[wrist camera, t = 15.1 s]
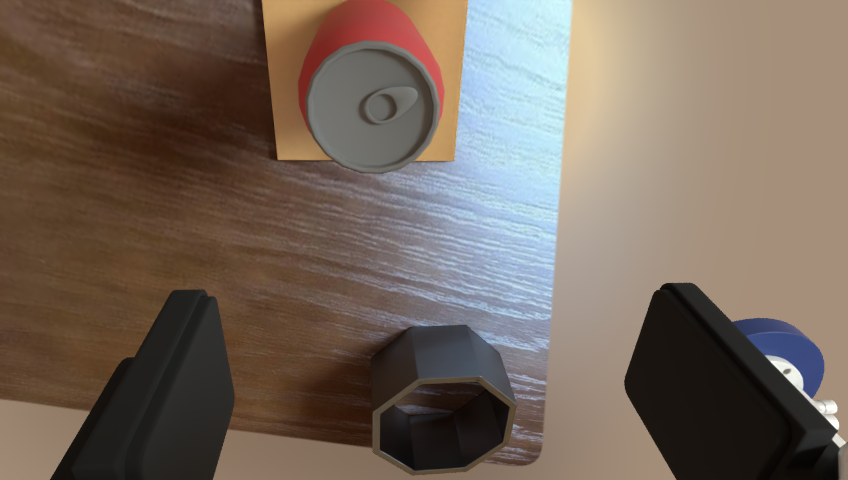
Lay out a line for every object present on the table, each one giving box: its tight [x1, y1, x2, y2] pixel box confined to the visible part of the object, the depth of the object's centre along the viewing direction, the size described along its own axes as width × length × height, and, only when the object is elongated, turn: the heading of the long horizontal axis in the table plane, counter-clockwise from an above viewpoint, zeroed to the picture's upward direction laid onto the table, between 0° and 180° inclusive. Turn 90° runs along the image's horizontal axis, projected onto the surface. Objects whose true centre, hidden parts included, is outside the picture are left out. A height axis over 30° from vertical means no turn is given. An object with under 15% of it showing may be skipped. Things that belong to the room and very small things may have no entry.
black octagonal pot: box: [371, 325, 517, 475], centre depth 44 cm, size 12×12×6 cm
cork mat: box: [262, 0, 468, 161], centre depth 31 cm, size 12×14×1 cm
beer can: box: [298, 0, 445, 174], centre depth 26 cm, size 7×7×12 cm
